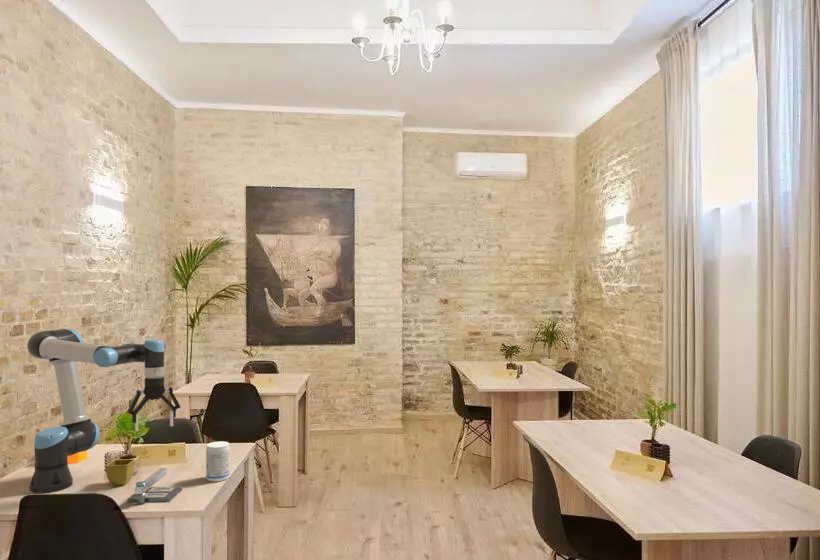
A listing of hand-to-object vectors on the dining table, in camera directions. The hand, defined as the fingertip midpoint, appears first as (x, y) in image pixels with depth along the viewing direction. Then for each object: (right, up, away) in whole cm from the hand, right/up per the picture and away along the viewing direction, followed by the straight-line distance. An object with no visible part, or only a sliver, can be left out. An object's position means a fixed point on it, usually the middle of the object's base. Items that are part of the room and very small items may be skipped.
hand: (154, 428), depth 244 cm
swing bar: (+4, -19, -13) cm, 23 cm away
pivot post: (+4, -23, -22) cm, 32 cm away
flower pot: (-15, -24, +1) cm, 28 cm away
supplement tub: (+24, -23, +6) cm, 34 cm away
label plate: (+6, -23, -14) cm, 28 cm away
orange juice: (-54, -25, +35) cm, 69 cm away
